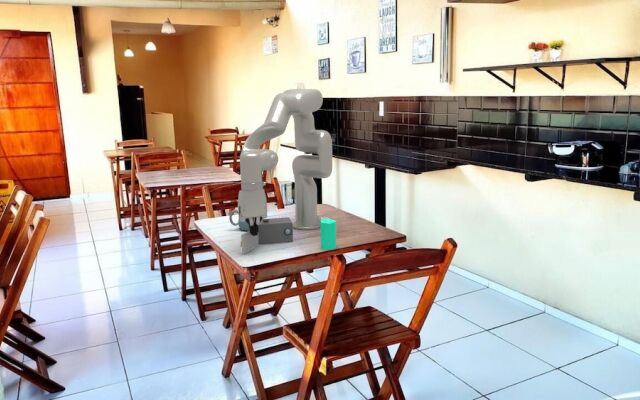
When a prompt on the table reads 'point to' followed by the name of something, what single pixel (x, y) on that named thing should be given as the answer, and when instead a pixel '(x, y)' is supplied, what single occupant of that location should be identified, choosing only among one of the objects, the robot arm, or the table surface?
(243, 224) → the mug
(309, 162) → the robot arm
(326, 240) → the candle
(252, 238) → the side door
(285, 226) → the camera body
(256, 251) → the table surface
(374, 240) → the table surface
